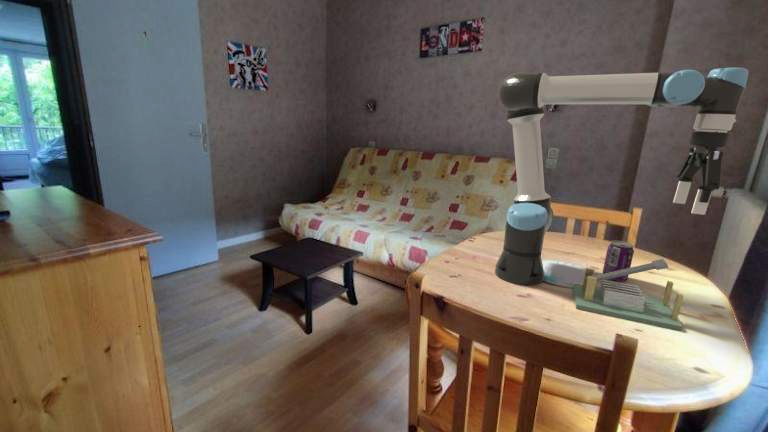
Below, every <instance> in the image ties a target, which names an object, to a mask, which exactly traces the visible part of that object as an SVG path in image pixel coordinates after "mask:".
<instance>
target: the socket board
mask: <svg viewBox="0 0 768 432" xmlns="http://www.w3.org/2000/svg"><path fill="white" fill-rule="evenodd" d="M582 285H583V283H580V282H579V283H578V282H573V283H572V289H573V290H572V291H573V297H574V298H573V299H574V304H575V309H576V310H582V311H587V312H589V313H590V312H591V313H596V314H601V315H604V316H610V317H614V318H619V319H624V320H628V321H633V322H638V323H643V324H647V325H652V326H655V327H661V328H666V329H670V330H674V331H675V330H676V331H679V332H682V329H683V325H682V324H681V323H680V321H679V319H677V320H672V319H671V314H672V310H673V309H671V307H670V306H669V304H668V305H667V306H665V305H663V304H662V300H663V298H658V297H653V296H646V295H644V298H645V302H644V310H643V313H639V312H634V311H629V310H624V309H619V308H614V307H609V306H605V305H603V304H602V301H601V297H600V294H599V287H600V286H595V290H594V295H593V299H592V302H591V301H586V300H584V294H585V291H582Z"/></svg>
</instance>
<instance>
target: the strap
mask: <svg viewBox="0 0 768 432" xmlns="http://www.w3.org/2000/svg"><path fill="white" fill-rule="evenodd" d="M664 269H669V265H668V263H667V262H666V261H665V259H664V258H661V259H660V258H659V259H656V260H652V261H651V262H649V263H645V264H641V265H635V266H631V267H630V268H627V269H622V270H618V271H613V272H609V273H605V274H602V273H601V274H596V275H593V276H592V277H596V278H597V280H596V283H598V282H601V281H602V280H606V281H608V280H611V278H616V277H620V276H625V275H628V276H630V275H633V274H637V273H642V272H646V271H647V272H648V271H652V270H656V271H659V270H664ZM588 276H591V275H587V276H586V280H587V279H588Z"/></svg>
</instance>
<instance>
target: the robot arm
mask: <svg viewBox="0 0 768 432" xmlns="http://www.w3.org/2000/svg"><path fill="white" fill-rule="evenodd" d="M748 77H749V70H748V69H747V68H745V67H722V68H714V69H712V70H710V71H709V73H708V75H707V76H704V75H703V74H702V73H701V72H699V71H698V70H694V69H681V70H678V71H669V72H665V71H664V72H640V73H638V72H637V73H636V72H635V73H610V74H609V73H608V74H606V73H605V74H585V75H583V74H581V75H580V74H579V75H557V76H556V75H555V76H554V75H553V76H549V75H548V74H547V73H546V72H524V71H519V72H514V73H512V74H510V75H508V76H507V77H505V78H504V80H502V82H501V83H500V85H499V87H498V92H497V93H498V95H497V96H498V101H499V103H500V104H501V106H502V107H503V108H504V109H505V110H506V122H508V123H509V124H510V125H511V127H512V135H513V148H514V159H515V171H516V172H515V173H516V183H517V195H516V196H515V197H514V198H513V201H514V202H513V204H512V205H510V207H508V210H507V213H506V223H505V231H504V238H503V239H504V240H503V248H502V252H501V253H500V255H499V257H498V259H497V261H496V264H495V268H494V273H495V274H496V276H498V277H499V278H500V279H502V280H505V281H506V282H509V283H512V284H517V285H521V286H522V285H524V286H528V285H529V286H534V285H539V284H541V283H543V281H544V278H545V270H544V266H543V265H544V264H543V260H542V253H543V251H542V250H543V247H544V246H543V245H544V239H545V236H546V232H548V230H549V229H550V227H551V226H552V224H553V222H554V216H555V215H554V211H553V210H554V209H553V208H552V206H551V205H552V204H551V196H550V194H548V193H547V192H546V191H545V190H546V189H545V175H544V163H543V162H544V161H543V160H544V159H543V151H542V150H543V149H542V146H543V145H542V136H541V135H542V133H541V119H542V118H543V117H544V116H545V105H646V106H648V107H656V108H665V107H666V108H698V112H697V114H696V116H695V121H694V125H693V126H692V127H693V129H694V131H693V132H692V133H691V135H690V138H689V142H688V145H690V146H693V147H689V150H688V152H687V155H686V157H685V159H684V161H683V164H682V165H681V168H679V169H680V170H679V171H678V173H677V175H676V178H678V183H677V186H676V192H675V194H674V197H673V201H672V203H673V204H682V205H685V204H686V201H687V199H688V195H689V191H690V189H691V185H692V182H694V179H693V178H694V176H695V175H696V174H697V172H698V171H699V179H700V182H699V183H700V185H699V186H698V187H697V188H696V189H697V193H696V195H695V198H694V202H693V204H692V205H693V206H692V209H691V214H692V215H693V214H694V215H703V216H704V215H705V216H706V212H707V209H708V207H709V203H710V200H711V197H712V194H713V192H714V191H715V190H719V189H720V184H721V183H720V182H721V181H720V180H721V169H722V161H723V160H722V159H723V156H724V151H719V150H717V149H718V148H726V147H727V145H728V142H729V139H730V136H731V134H730V132H728V131H731V130H732V129H733V125H734V123H736V122H737V119H736V116H737V113H738V110H739V107H740V104H741V101H742V98H743V94H744V92H745V90H746V88H747V81H748ZM694 146H696V147H694Z"/></svg>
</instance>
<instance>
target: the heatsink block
mask: <svg viewBox="0 0 768 432" xmlns="http://www.w3.org/2000/svg"><path fill="white" fill-rule="evenodd" d="M598 287H599V294H600V297H601V301H602V304H603V305H605V306H609V307H614V308H619V309H624V310H629V311H634V312H639V313H643V310H644V302H645V298H644V296H645V295H644V294H643V291H641V289H640V286H638V285H634V284H627V283H622V282H618V281H616V282H615V281H613V280H602V281H600V284H599V286H598Z"/></svg>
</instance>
